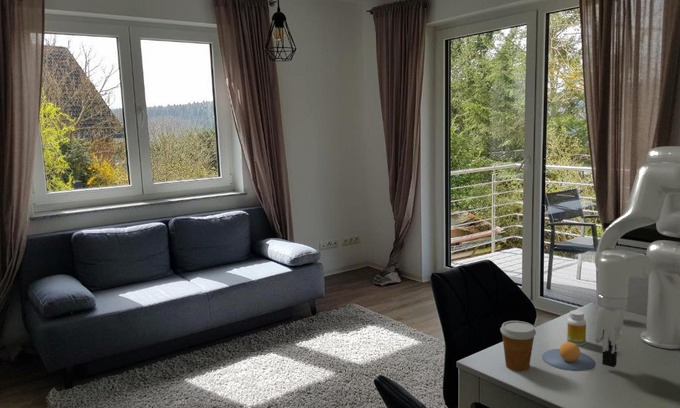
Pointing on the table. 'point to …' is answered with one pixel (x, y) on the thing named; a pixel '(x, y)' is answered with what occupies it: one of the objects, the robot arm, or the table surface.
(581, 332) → the supplement bottle
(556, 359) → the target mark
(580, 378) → the table surface
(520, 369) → the disposable coffee cup
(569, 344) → the ball
